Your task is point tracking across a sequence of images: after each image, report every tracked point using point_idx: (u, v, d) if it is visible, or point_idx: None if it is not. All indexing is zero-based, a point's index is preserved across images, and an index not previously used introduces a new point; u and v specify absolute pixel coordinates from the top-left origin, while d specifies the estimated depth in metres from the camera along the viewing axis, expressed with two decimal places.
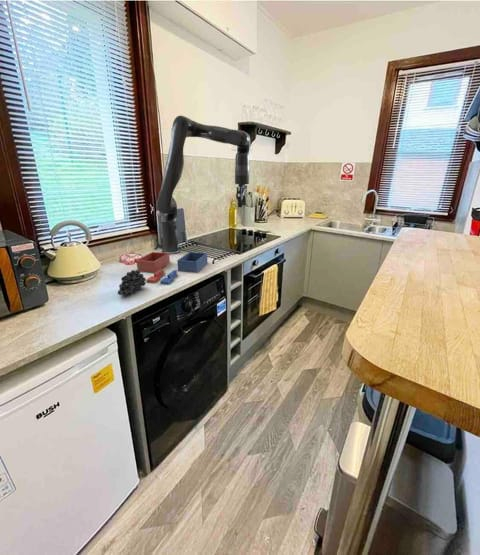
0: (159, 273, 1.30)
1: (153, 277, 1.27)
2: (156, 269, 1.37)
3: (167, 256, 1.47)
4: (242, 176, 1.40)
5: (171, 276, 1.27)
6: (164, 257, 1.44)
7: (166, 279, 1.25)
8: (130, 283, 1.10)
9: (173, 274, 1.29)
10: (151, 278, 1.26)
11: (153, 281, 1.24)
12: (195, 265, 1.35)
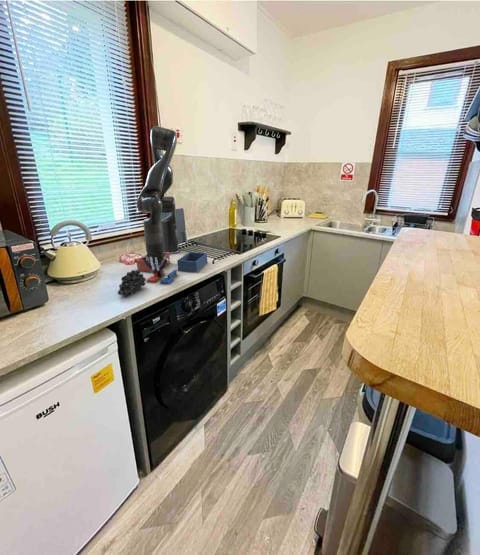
0: None
1: (153, 277, 1.27)
2: None
3: (167, 256, 1.47)
4: None
5: (171, 276, 1.27)
6: None
7: (166, 279, 1.25)
8: (130, 283, 1.10)
9: (173, 274, 1.29)
10: (151, 278, 1.26)
11: (153, 281, 1.24)
12: (195, 265, 1.35)
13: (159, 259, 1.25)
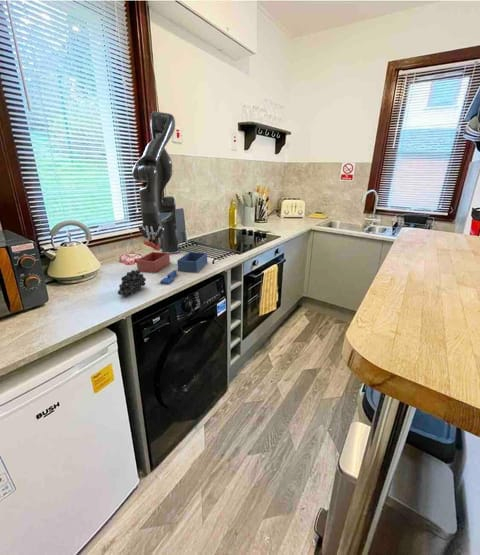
0: None
1: None
2: (156, 269, 1.37)
3: (167, 256, 1.47)
4: None
5: (171, 276, 1.27)
6: (164, 257, 1.44)
7: (166, 279, 1.25)
8: (130, 283, 1.10)
9: (173, 274, 1.29)
10: None
11: (150, 242, 1.28)
12: (195, 265, 1.35)
13: (154, 228, 1.29)
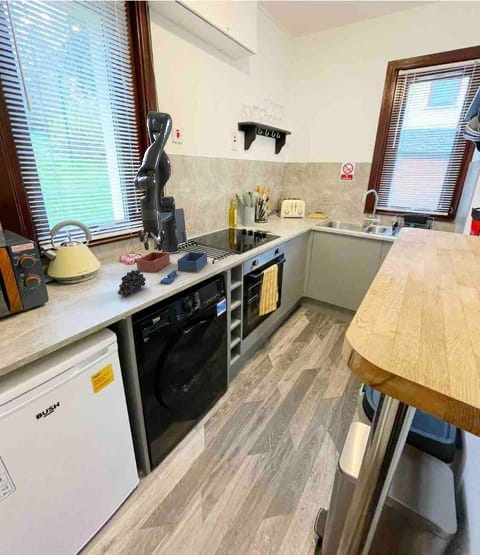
0: None
1: None
2: (156, 269, 1.37)
3: (167, 256, 1.47)
4: None
5: (171, 276, 1.27)
6: (164, 257, 1.44)
7: (166, 279, 1.25)
8: (130, 283, 1.10)
9: (173, 274, 1.29)
10: None
11: None
12: (195, 265, 1.35)
13: (154, 234, 1.37)
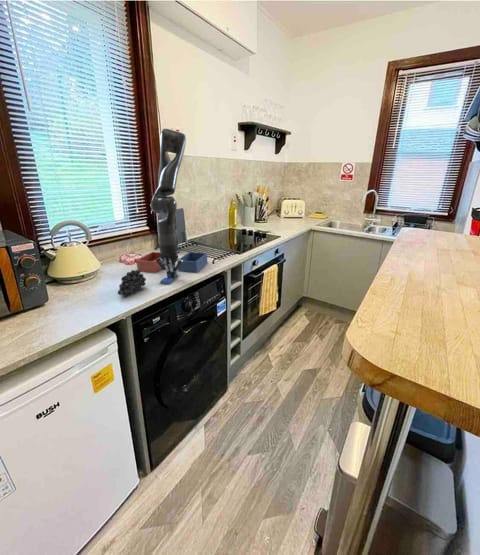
0: None
1: None
2: (156, 269, 1.37)
3: None
4: None
5: None
6: None
7: (166, 279, 1.25)
8: (130, 283, 1.10)
9: None
10: None
11: None
12: (195, 265, 1.35)
13: (173, 260, 1.24)
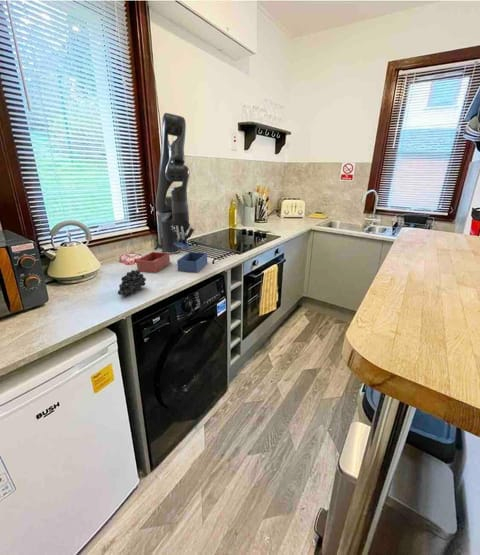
0: None
1: None
2: (156, 269, 1.37)
3: (167, 256, 1.47)
4: None
5: None
6: (164, 257, 1.44)
7: None
8: (130, 283, 1.10)
9: None
10: None
11: None
12: (195, 265, 1.35)
13: (185, 228, 1.29)
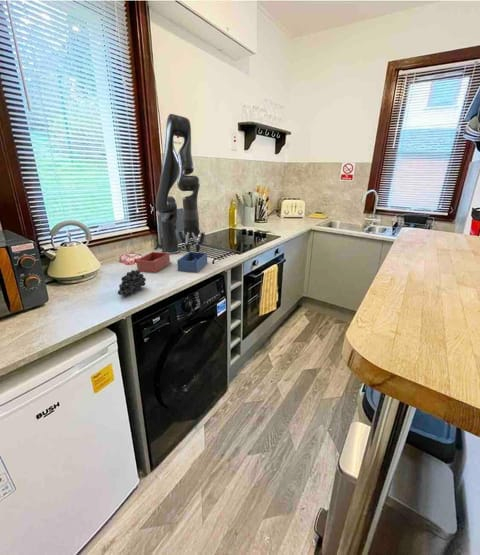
0: None
1: None
2: (156, 269, 1.37)
3: (167, 256, 1.47)
4: None
5: None
6: (164, 257, 1.44)
7: None
8: (130, 283, 1.10)
9: (195, 261, 1.44)
10: None
11: None
12: (195, 265, 1.35)
13: (195, 234, 1.37)
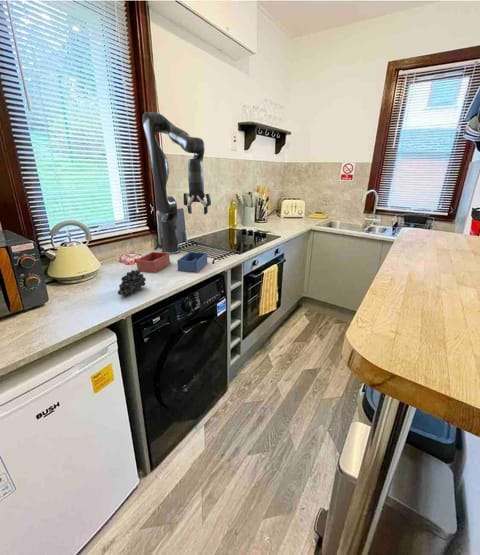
0: None
1: None
2: (156, 269, 1.37)
3: (167, 256, 1.47)
4: None
5: None
6: (164, 257, 1.44)
7: None
8: (130, 283, 1.10)
9: (195, 261, 1.44)
10: None
11: None
12: (195, 265, 1.35)
13: (200, 198, 1.39)
